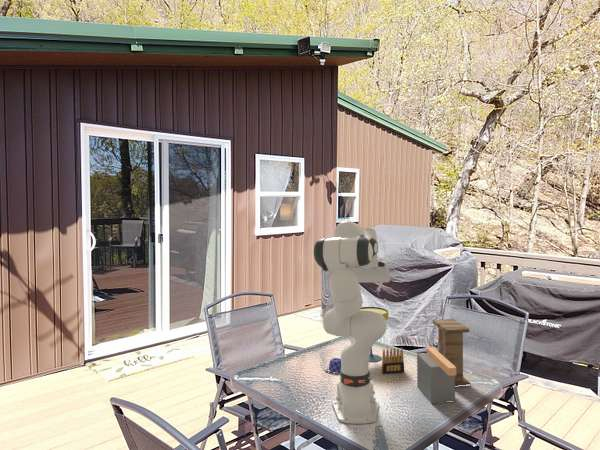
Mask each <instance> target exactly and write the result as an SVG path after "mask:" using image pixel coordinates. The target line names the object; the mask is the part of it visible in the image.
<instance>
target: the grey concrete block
mask: <svg viewBox="0 0 600 450" xmlns="http://www.w3.org/2000/svg"><path fill="white" fill-rule="evenodd" d="M440 354H441V353H440ZM416 357H417V358H416V363H417V364H416V367H417V370H416V371H417V372H416V373H417V374H416V375H417V377H416V378H417V383H416V384H417V385H416V386H417V388H418V389H419V391H420V392H421V393H422V395H423V396H424V397H425V398H426V399H427V401H429V403H430V404H439V402H445V403H448V402H447V401H456V389H455V388H456V387H455V375H454V376H448V375H447V374H446V373H445V372H444V371H443V370H442V369H441V368H440V367H439V366H438V365H437V364H436V363H435V362H434V361H433V360H432V359H431V358H430V357H429V356H428V355H427V352H423V353H417V354H416ZM448 361H449V360H448ZM449 362H450V361H449Z"/></svg>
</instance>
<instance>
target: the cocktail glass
mask: <svg viewBox="0 0 600 450" xmlns="http://www.w3.org/2000/svg"><path fill="white" fill-rule="evenodd" d="M360 310H362V311H372V312H376V313H379V314H382V315H383V316H384V318H385V320H386V321H387V320H388V319H389V311H388V309H386V308H383V307H382V308H381V307H378V306H362V307H361V309H360ZM382 357H383V356H380V355H379V354H374V353H373V347H372V348H371V350H370V353H369V363H377V362H380V361H381V360H382Z"/></svg>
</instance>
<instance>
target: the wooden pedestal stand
mask: <svg viewBox="0 0 600 450" xmlns="http://www.w3.org/2000/svg"><path fill="white" fill-rule="evenodd" d="M432 324H433V325H434V326H436V327H437V328H438V329H437V335H438V337H437V340H438V342H437V343H438V346H437V347H438V350H437V351H438V352H439V353H441V354H442V355H443V356H444V357H445V358H446V359H447V360H449V361H450V362H451V363H452V364H453V365H454V366H455V367H456V375H455V386H458V385H466V384H470V385H471V382H470V381H469V380H468V379H466V377H465V376H464V333H470V328H469V327H467V326H466V325H464V324H462V323H460V322H459V321H458V320H456V319H455V318H450V319H449V318H447V319H432Z"/></svg>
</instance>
